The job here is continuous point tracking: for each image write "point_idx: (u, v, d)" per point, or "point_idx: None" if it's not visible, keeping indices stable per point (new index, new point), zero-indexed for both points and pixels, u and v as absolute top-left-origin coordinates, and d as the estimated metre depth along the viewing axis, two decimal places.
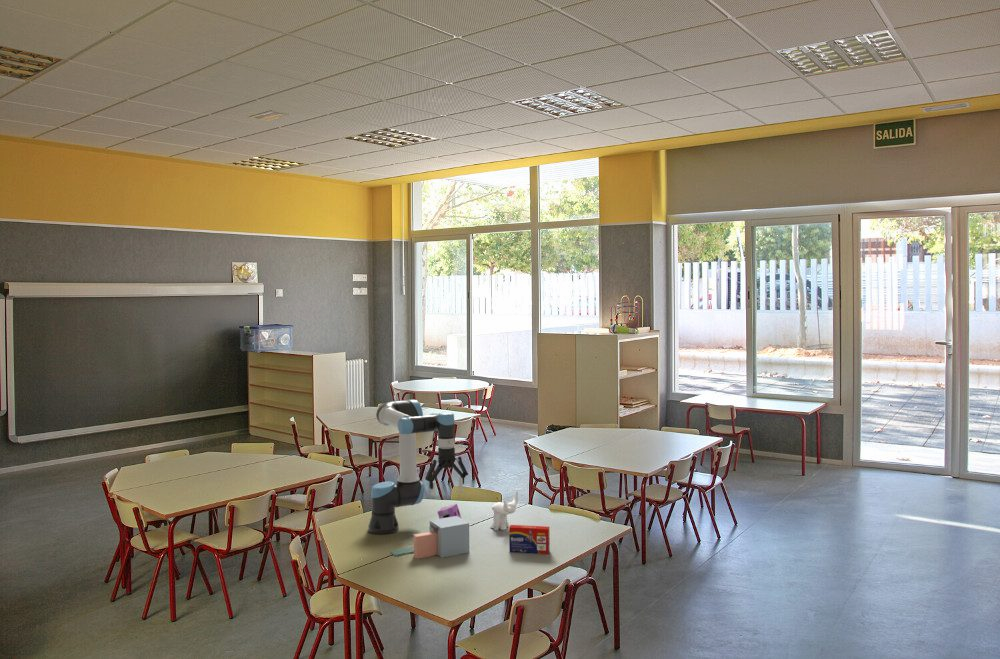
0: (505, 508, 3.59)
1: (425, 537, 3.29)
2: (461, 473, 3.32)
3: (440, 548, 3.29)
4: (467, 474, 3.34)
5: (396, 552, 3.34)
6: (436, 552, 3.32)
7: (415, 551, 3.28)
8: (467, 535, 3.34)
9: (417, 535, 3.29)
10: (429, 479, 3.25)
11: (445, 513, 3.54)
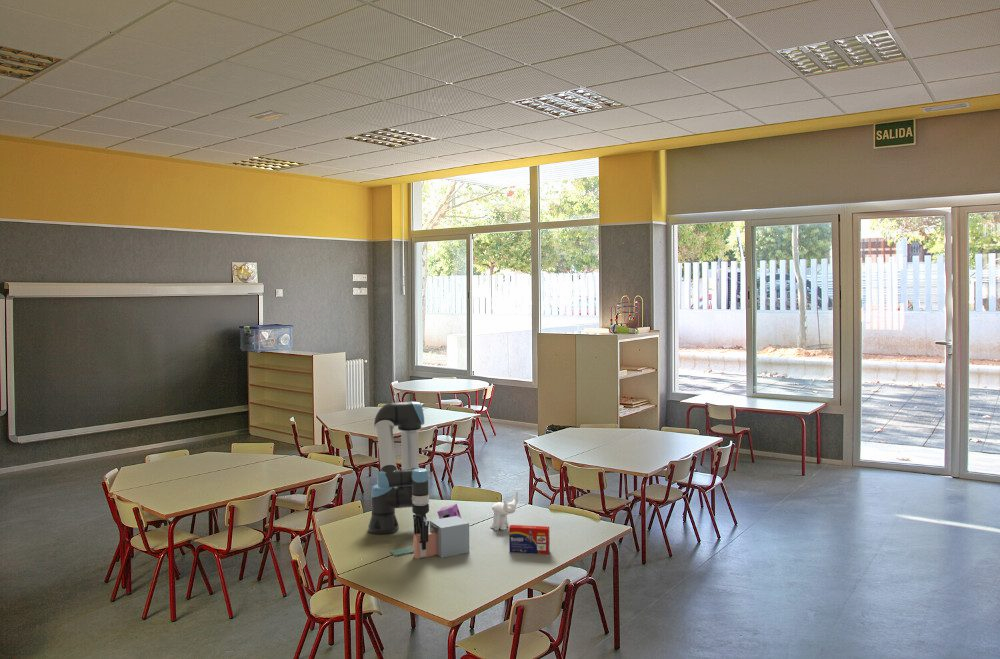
0: (505, 508, 3.59)
1: None
2: (421, 537, 3.27)
3: (440, 548, 3.29)
4: (422, 541, 3.25)
5: (396, 552, 3.34)
6: (436, 552, 3.32)
7: (415, 551, 3.28)
8: (467, 535, 3.34)
9: (417, 535, 3.29)
10: None
11: (445, 513, 3.54)
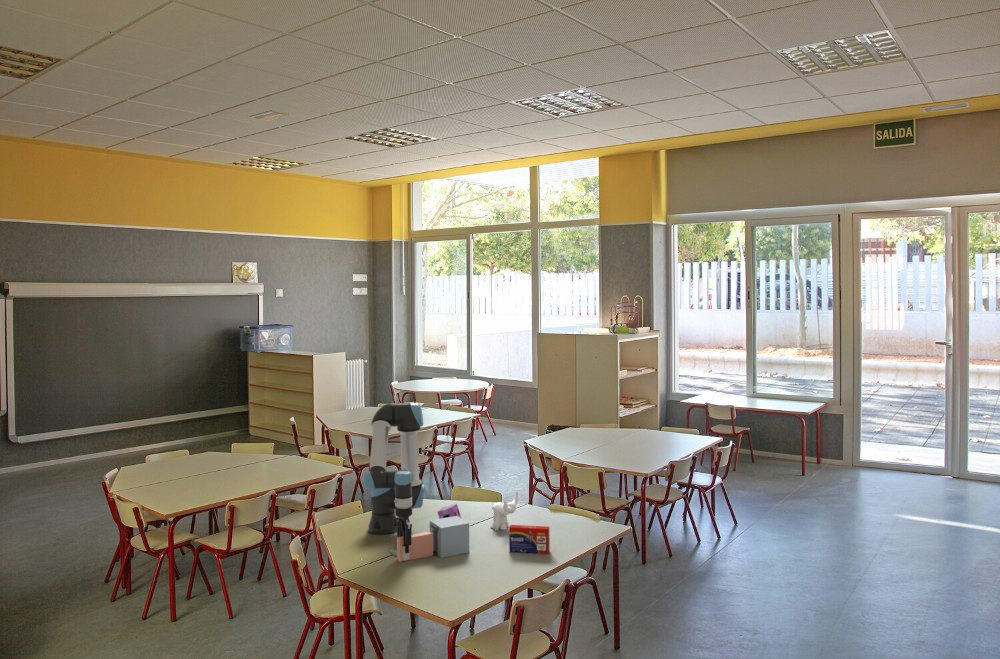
0: (505, 508, 3.59)
1: None
2: (404, 540, 3.23)
3: (440, 548, 3.29)
4: (405, 545, 3.21)
5: (396, 552, 3.34)
6: (420, 555, 3.28)
7: (398, 554, 3.24)
8: (467, 535, 3.34)
9: (400, 538, 3.25)
10: None
11: (445, 513, 3.54)
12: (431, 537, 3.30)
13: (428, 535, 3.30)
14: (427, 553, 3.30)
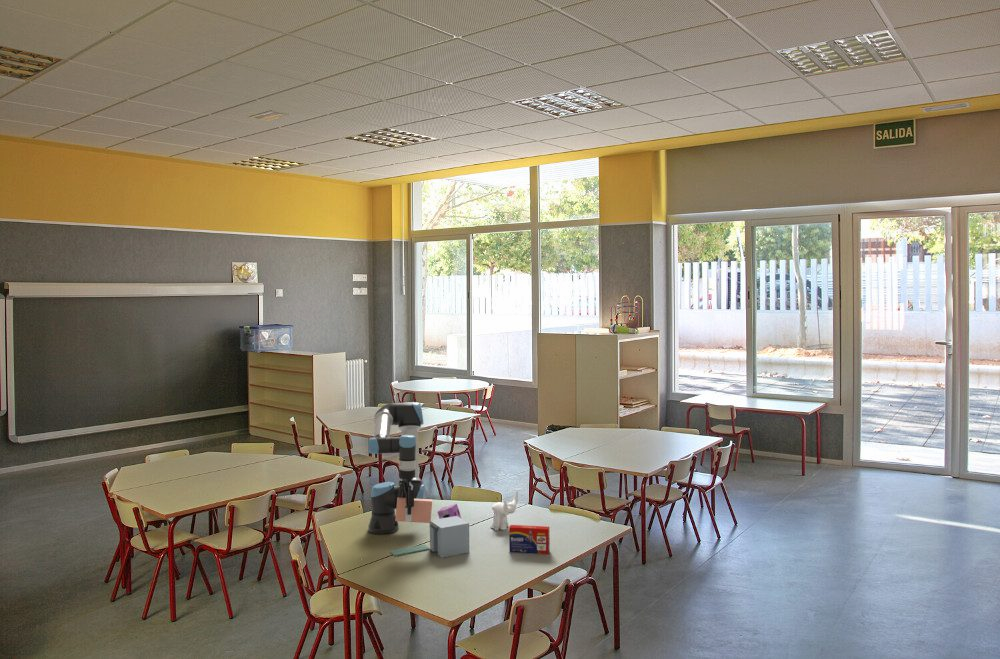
0: (505, 508, 3.59)
1: None
2: (406, 502, 3.31)
3: (440, 548, 3.29)
4: (408, 506, 3.29)
5: (396, 552, 3.34)
6: (416, 519, 3.34)
7: None
8: (467, 535, 3.34)
9: (399, 498, 3.34)
10: None
11: (445, 513, 3.54)
12: (430, 505, 3.34)
13: (427, 502, 3.34)
14: (424, 520, 3.34)
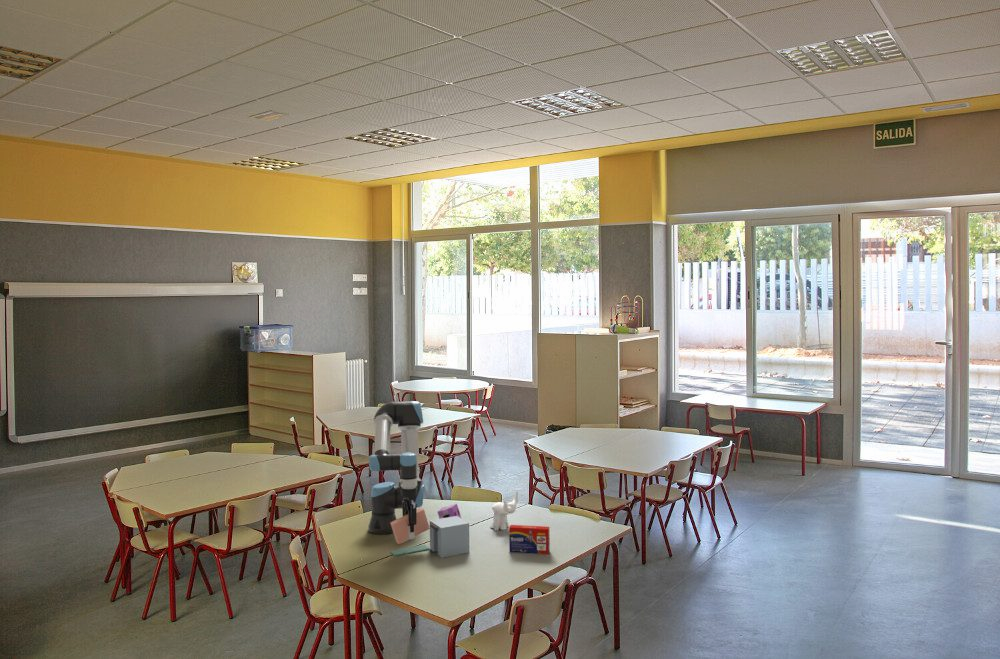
0: (505, 508, 3.59)
1: (402, 522, 3.33)
2: (409, 520, 3.33)
3: (440, 548, 3.29)
4: (410, 524, 3.31)
5: (396, 552, 3.34)
6: (417, 532, 3.37)
7: (396, 537, 3.33)
8: (467, 535, 3.34)
9: (394, 522, 3.32)
10: None
11: (445, 513, 3.54)
12: (423, 513, 3.38)
13: (420, 512, 3.37)
14: (423, 529, 3.38)
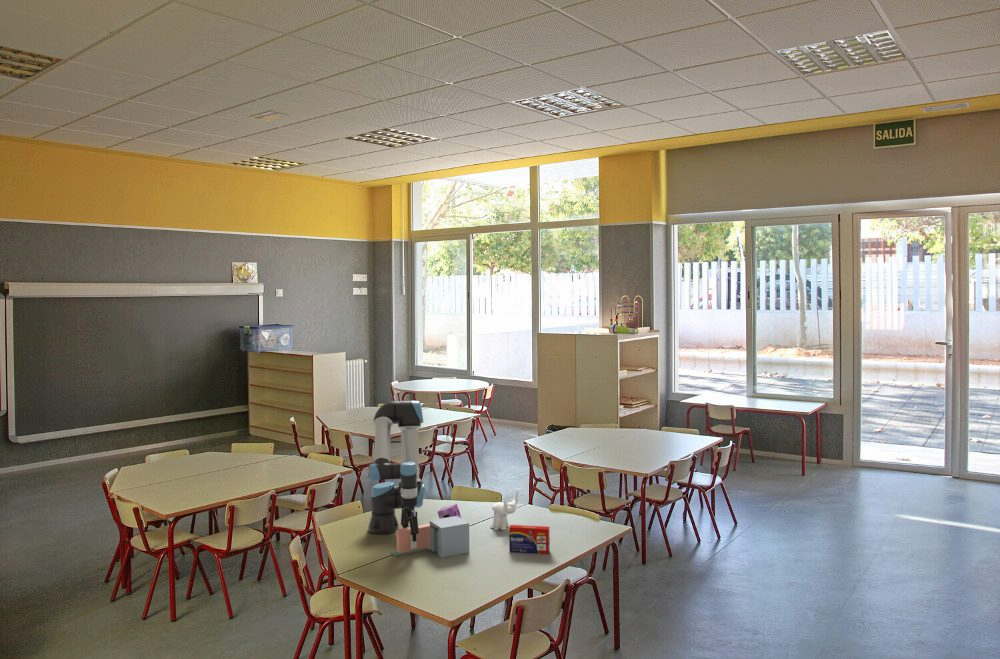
0: (505, 508, 3.59)
1: (408, 532, 3.34)
2: (411, 529, 3.32)
3: (440, 548, 3.29)
4: (413, 533, 3.29)
5: (396, 552, 3.34)
6: (418, 546, 3.37)
7: (398, 546, 3.34)
8: (467, 535, 3.34)
9: (400, 530, 3.34)
10: (401, 524, 3.42)
11: (445, 513, 3.54)
12: (429, 529, 3.40)
13: (427, 527, 3.39)
14: (425, 545, 3.39)
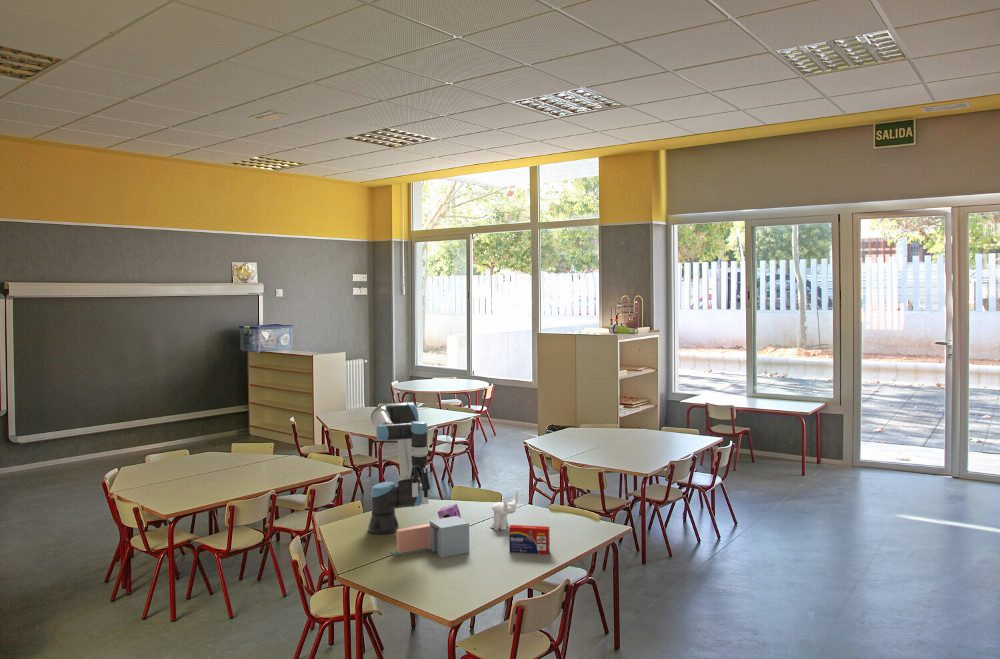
0: (505, 508, 3.59)
1: (408, 532, 3.34)
2: (422, 485, 3.33)
3: (440, 548, 3.29)
4: (424, 489, 3.30)
5: (396, 552, 3.34)
6: (418, 546, 3.37)
7: (398, 546, 3.34)
8: (467, 535, 3.34)
9: (400, 530, 3.34)
10: (410, 479, 3.47)
11: (445, 513, 3.54)
12: (429, 529, 3.40)
13: (427, 527, 3.39)
14: (425, 545, 3.39)
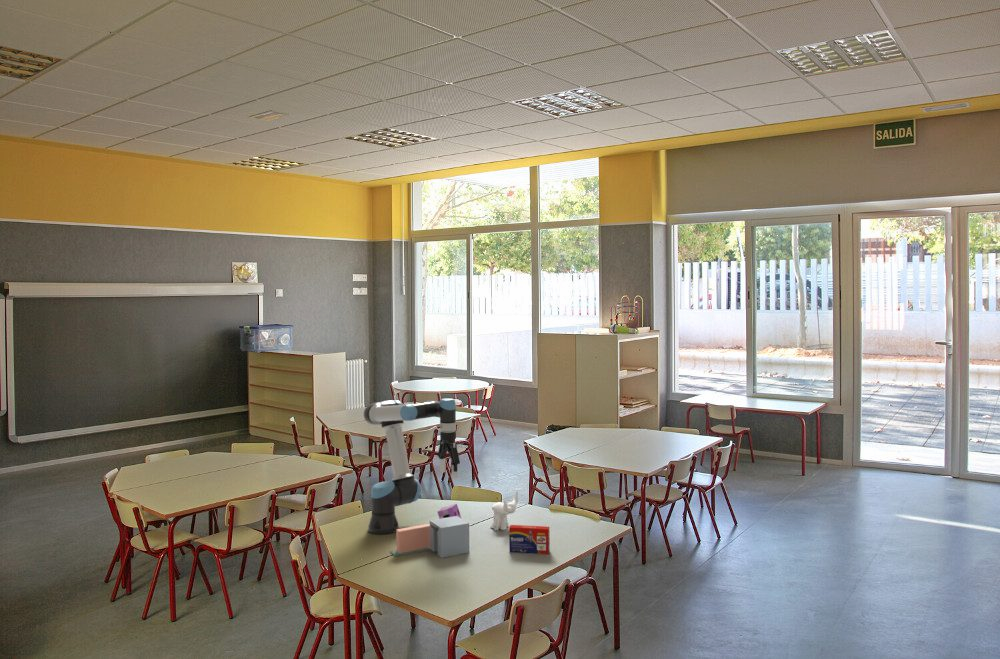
0: (505, 508, 3.59)
1: (408, 532, 3.34)
2: (452, 460, 3.43)
3: (440, 548, 3.29)
4: (454, 463, 3.40)
5: (396, 552, 3.34)
6: (418, 546, 3.37)
7: (398, 546, 3.34)
8: (467, 535, 3.34)
9: (400, 530, 3.34)
10: (438, 455, 3.57)
11: (445, 513, 3.54)
12: (429, 529, 3.40)
13: (427, 527, 3.39)
14: (425, 545, 3.39)
